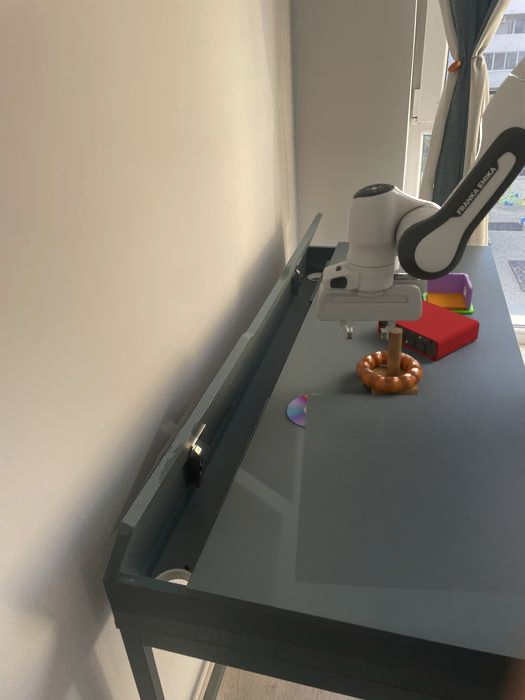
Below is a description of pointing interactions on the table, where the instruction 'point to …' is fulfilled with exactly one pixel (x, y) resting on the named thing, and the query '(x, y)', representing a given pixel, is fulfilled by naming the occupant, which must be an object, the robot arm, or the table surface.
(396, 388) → the ring
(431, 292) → the dollhouse room
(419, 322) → the red device housing
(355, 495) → the table surface
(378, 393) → the stand
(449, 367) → the table surface
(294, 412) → the cd
